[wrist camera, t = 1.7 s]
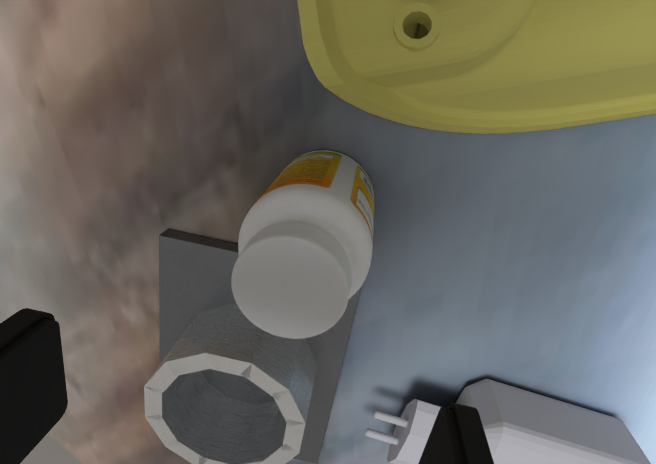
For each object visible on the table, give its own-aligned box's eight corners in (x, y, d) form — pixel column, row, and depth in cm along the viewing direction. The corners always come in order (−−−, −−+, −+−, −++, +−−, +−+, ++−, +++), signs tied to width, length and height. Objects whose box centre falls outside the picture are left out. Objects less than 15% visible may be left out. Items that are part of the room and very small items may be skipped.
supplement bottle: (261, 209, 23) (184, 307, 14) (307, 128, 20) (252, 181, 12) (341, 257, 23) (316, 380, 14) (394, 183, 21) (404, 274, 12)
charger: (392, 342, 26) (616, 410, 26) (351, 436, 29) (545, 495, 29) (395, 400, 21) (664, 482, 21) (346, 501, 25) (573, 571, 25)
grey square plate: (167, 228, 24) (111, 274, 19) (363, 270, 23) (359, 329, 18) (166, 415, 31) (124, 485, 26) (319, 451, 30) (307, 530, 25)
